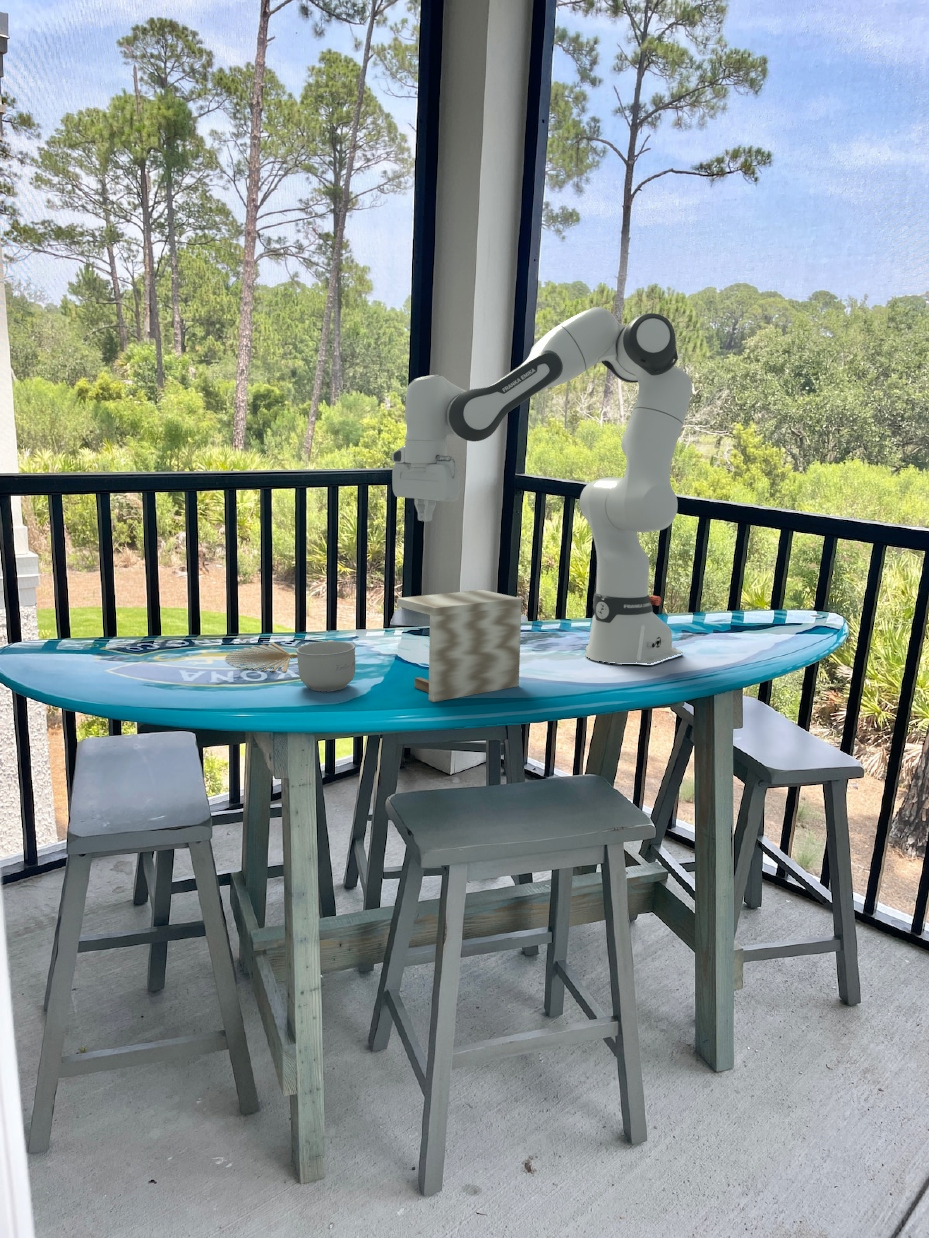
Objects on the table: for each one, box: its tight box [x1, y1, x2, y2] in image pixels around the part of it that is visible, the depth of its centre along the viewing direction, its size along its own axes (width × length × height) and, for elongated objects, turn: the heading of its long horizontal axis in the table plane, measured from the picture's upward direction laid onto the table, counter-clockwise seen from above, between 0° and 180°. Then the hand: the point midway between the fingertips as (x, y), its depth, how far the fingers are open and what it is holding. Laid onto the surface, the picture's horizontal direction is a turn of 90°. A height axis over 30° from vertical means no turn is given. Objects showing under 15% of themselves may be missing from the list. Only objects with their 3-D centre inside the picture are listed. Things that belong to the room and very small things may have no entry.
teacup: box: [295, 639, 356, 692], centre depth 168 cm, size 14×11×8 cm
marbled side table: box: [396, 589, 523, 703], centre depth 168 cm, size 20×12×17 cm, turn 127°
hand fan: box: [225, 642, 297, 673], centre depth 189 cm, size 26×1×15 cm
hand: (425, 520), depth 190 cm, fingers closed
